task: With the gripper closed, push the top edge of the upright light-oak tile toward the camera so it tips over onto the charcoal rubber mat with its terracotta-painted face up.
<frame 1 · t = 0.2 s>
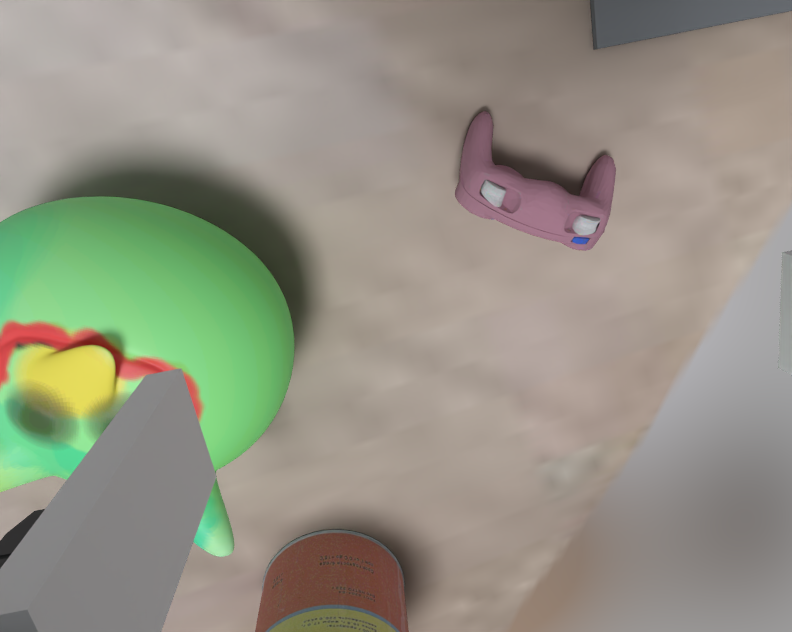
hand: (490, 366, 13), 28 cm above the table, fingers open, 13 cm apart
toy bird: (165, 311, 41), on the table
canned food: (334, 585, 49), on the table
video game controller: (525, 177, 40), on the table
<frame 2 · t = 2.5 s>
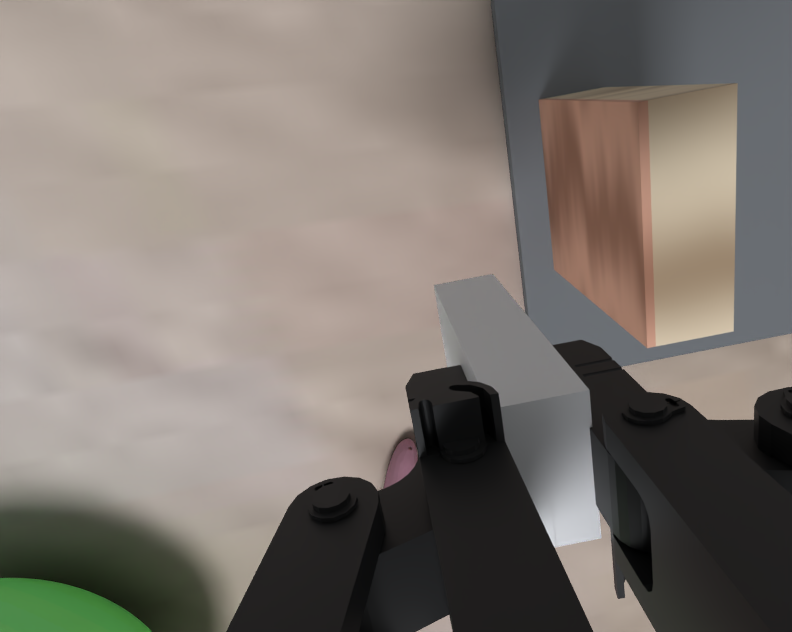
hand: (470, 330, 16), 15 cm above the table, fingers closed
oak tile: (577, 182, 29), point 1 cm above the table, touching rubber mat
rubber mat: (685, 159, 29), on the table
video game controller: (460, 490, 35), on the table
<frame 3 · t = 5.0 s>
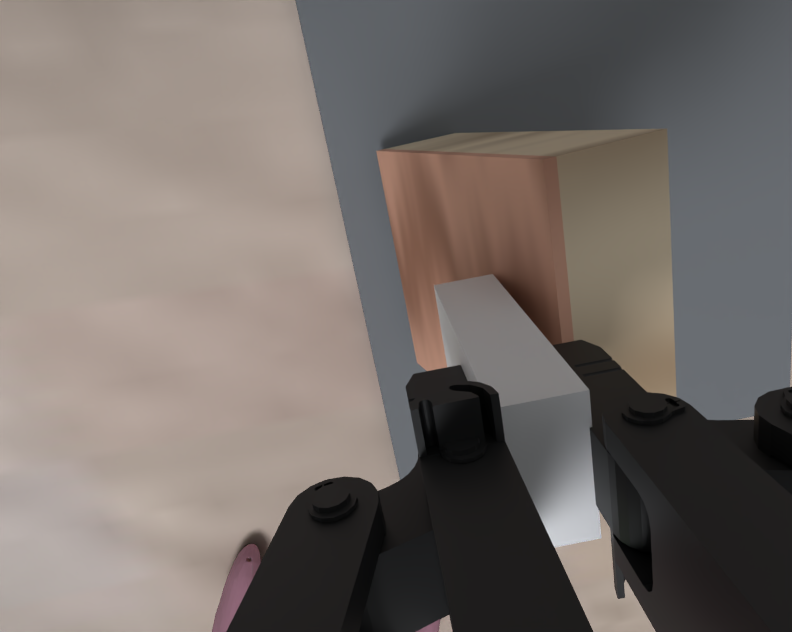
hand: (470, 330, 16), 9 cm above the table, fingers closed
oak tile: (435, 252, 23), point 1 cm above the table, tilted 17°, touching rubber mat
rubber mat: (570, 218, 24), on the table
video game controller: (328, 599, 29), on the table
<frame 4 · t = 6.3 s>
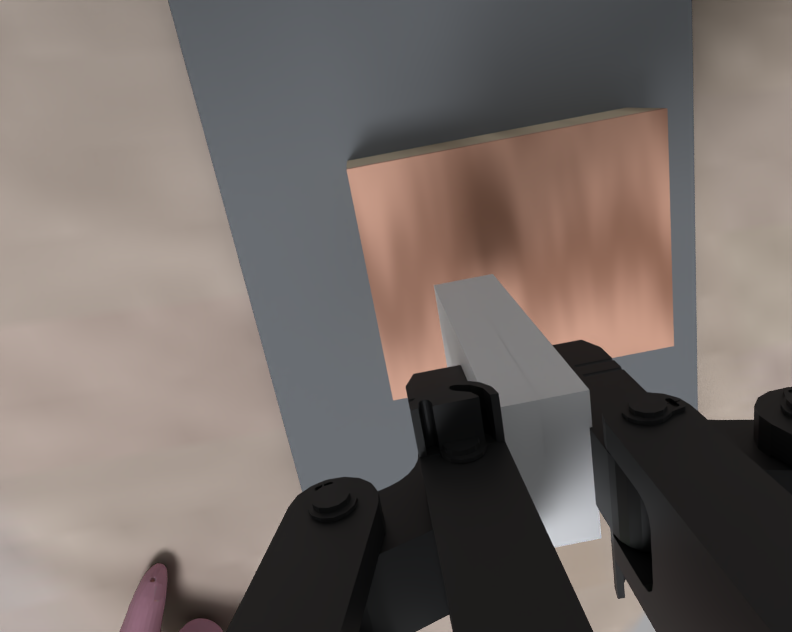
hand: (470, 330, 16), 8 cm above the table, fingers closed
oak tile: (370, 280, 21), point 2 cm above the table, tilted 90°, touching rubber mat
rubber mat: (468, 245, 24), on the table
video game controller: (242, 618, 29), on the table
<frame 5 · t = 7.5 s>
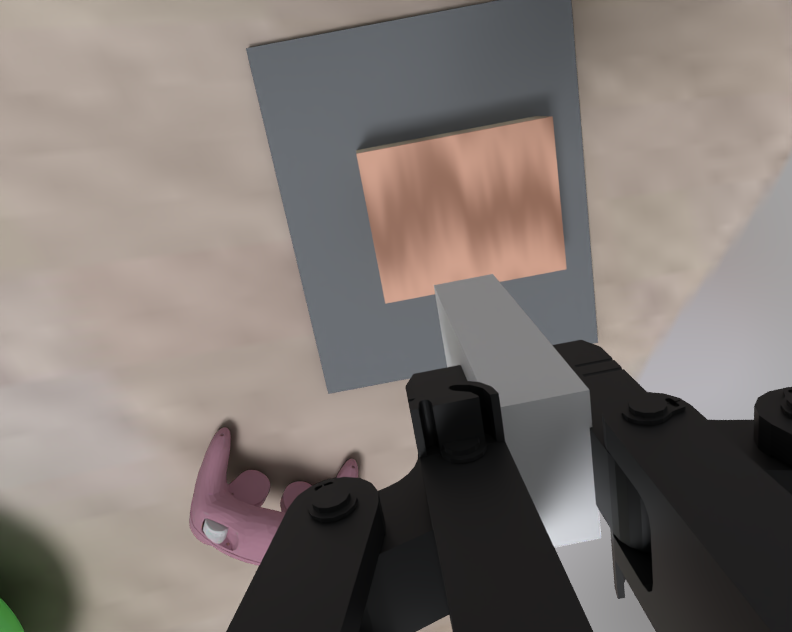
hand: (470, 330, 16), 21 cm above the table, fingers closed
oak tile: (370, 226, 33), point 2 cm above the table, tilted 90°, touching rubber mat
rubber mat: (436, 207, 35), on the table
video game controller: (280, 474, 41), on the table
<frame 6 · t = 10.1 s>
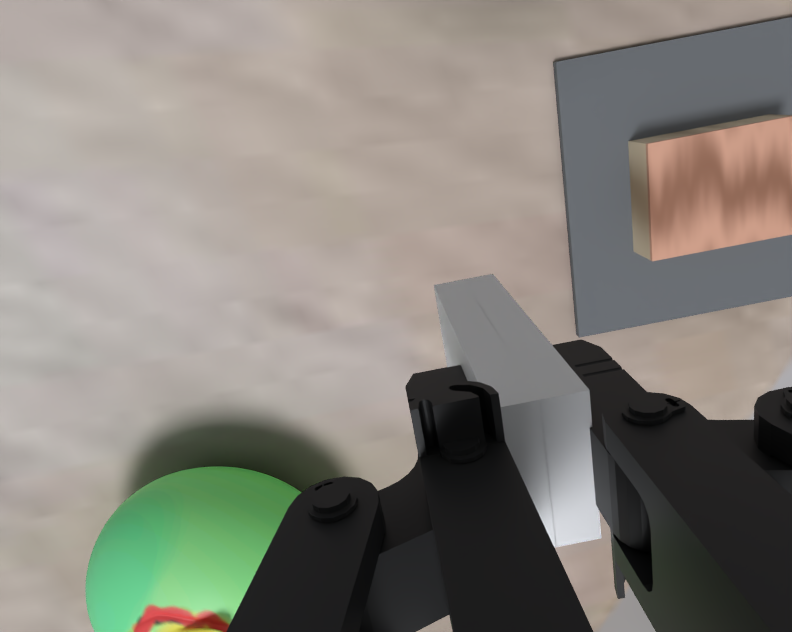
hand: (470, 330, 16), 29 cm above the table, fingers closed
oak tile: (640, 201, 43), point 2 cm above the table, tilted 90°, touching rubber mat
rubber mat: (680, 186, 45), on the table
toy bird: (236, 520, 52), on the table
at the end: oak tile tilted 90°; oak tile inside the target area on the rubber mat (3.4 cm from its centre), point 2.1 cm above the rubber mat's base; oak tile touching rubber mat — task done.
